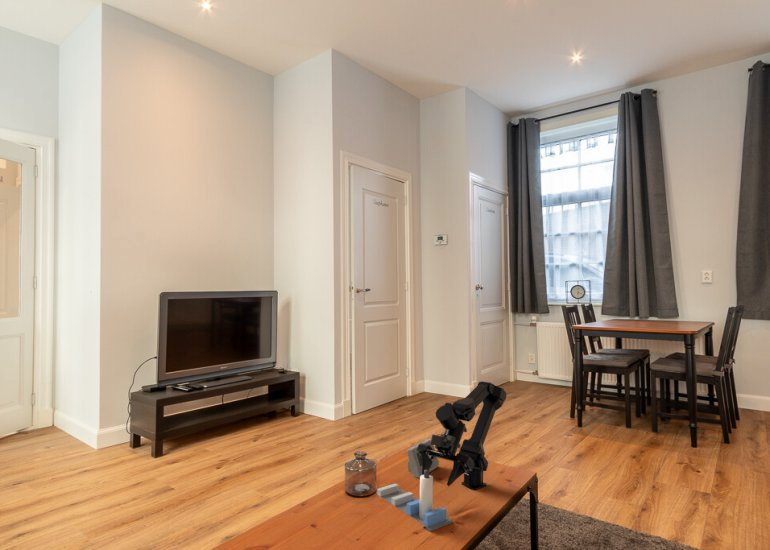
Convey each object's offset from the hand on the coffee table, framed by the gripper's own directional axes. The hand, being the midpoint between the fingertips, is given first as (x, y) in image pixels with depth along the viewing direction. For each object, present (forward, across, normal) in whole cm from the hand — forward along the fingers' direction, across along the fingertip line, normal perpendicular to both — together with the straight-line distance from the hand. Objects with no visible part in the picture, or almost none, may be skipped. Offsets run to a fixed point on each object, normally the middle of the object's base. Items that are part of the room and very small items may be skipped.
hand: (435, 481), depth 147 cm
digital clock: (-10, -20, +25) cm, 33 cm away
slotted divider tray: (+8, -7, +5) cm, 12 cm away
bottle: (+10, 0, +2) cm, 10 cm away
